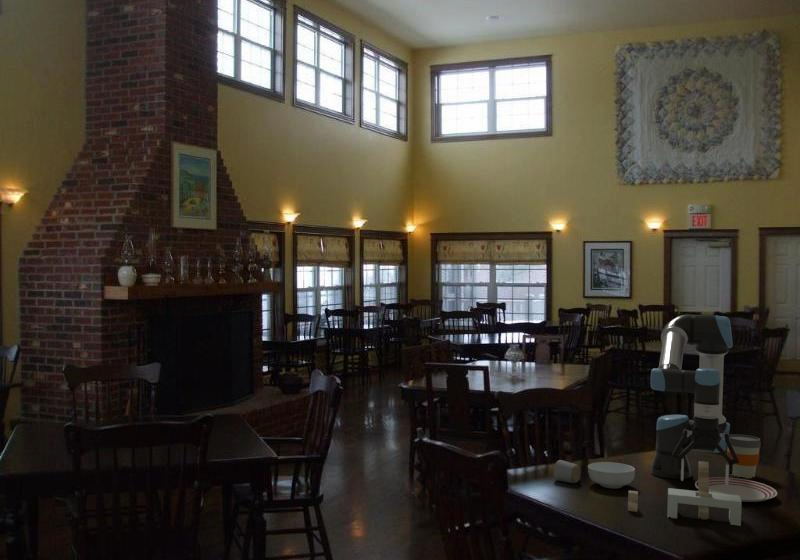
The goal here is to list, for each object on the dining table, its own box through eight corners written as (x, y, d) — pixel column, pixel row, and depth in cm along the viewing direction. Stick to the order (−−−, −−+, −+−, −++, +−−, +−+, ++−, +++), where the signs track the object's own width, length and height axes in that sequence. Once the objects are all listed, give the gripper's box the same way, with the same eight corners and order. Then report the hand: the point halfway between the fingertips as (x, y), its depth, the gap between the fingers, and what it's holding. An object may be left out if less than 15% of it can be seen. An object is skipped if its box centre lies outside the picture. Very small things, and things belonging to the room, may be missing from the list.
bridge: (667, 510, 270) (668, 488, 270) (738, 518, 264) (739, 495, 263) (667, 517, 263) (668, 494, 263) (740, 525, 256) (741, 502, 256)
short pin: (628, 508, 272) (628, 490, 272) (637, 509, 271) (638, 491, 271) (627, 510, 269) (628, 492, 269) (637, 511, 268) (637, 493, 268)
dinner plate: (773, 512, 273) (773, 502, 273) (688, 498, 286) (688, 489, 286) (780, 493, 297) (780, 484, 297) (701, 481, 310) (701, 473, 310)
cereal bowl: (613, 478, 312) (614, 459, 312) (644, 489, 297) (644, 470, 297) (578, 482, 304) (578, 463, 304) (607, 493, 289) (608, 474, 289)
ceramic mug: (572, 485, 299) (573, 465, 299) (552, 481, 304) (553, 461, 304) (585, 481, 307) (586, 460, 307) (565, 477, 312) (566, 457, 312)
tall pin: (698, 516, 265) (698, 461, 265) (708, 517, 264) (708, 461, 264) (698, 518, 262) (698, 463, 262) (708, 519, 261) (708, 463, 261)
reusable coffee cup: (766, 479, 316) (767, 440, 316) (736, 479, 314) (737, 441, 314) (747, 471, 329) (749, 434, 328) (719, 471, 327) (720, 434, 326)
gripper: (665, 415, 263) (663, 480, 263) (749, 421, 255) (746, 489, 256) (665, 411, 270) (663, 475, 271) (747, 417, 262) (744, 483, 263)
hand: (704, 482), depth 263 cm, fingers open, 13 cm apart
